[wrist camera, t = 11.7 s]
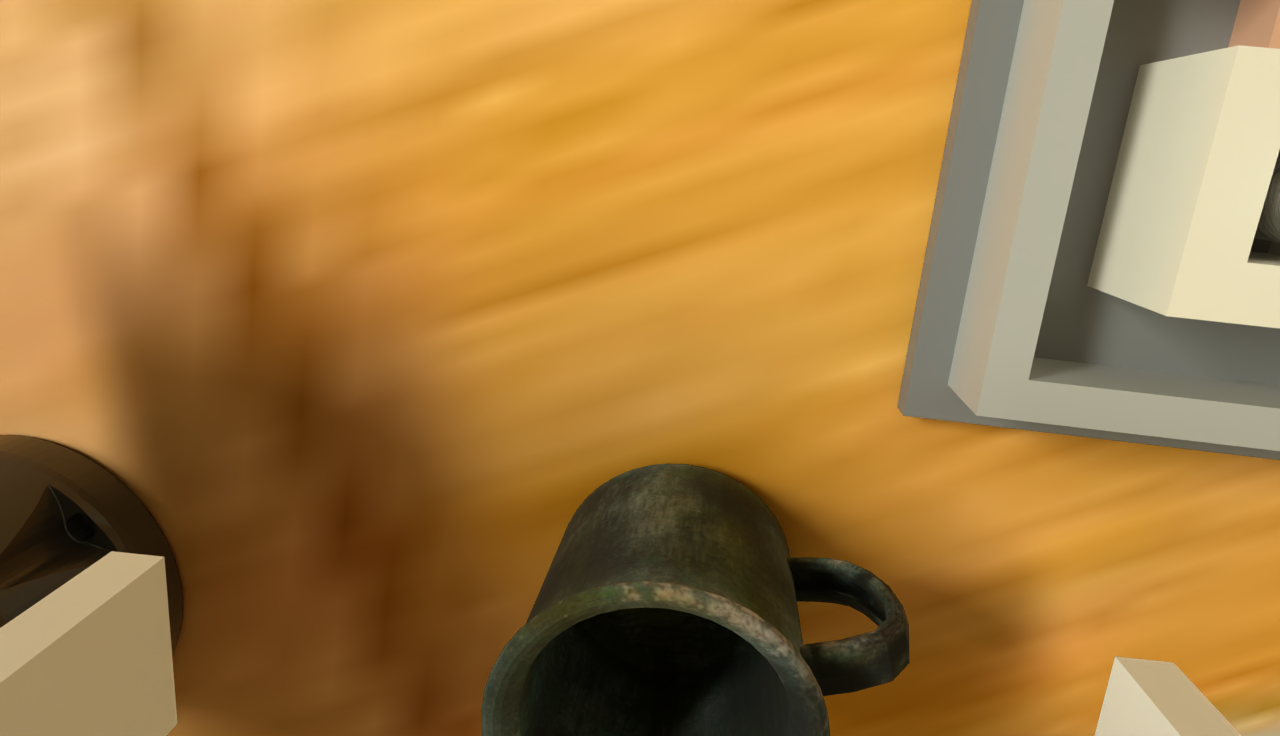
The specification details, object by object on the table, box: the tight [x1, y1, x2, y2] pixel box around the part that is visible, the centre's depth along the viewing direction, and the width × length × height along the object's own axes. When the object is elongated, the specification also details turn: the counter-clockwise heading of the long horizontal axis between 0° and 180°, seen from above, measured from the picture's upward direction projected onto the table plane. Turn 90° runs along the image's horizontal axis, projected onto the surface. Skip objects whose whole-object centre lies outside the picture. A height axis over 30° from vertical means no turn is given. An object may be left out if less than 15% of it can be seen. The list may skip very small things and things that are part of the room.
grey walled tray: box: [898, 0, 1280, 460], centre depth 29 cm, size 20×20×5 cm
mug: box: [482, 464, 909, 736], centre depth 32 cm, size 11×15×12 cm
